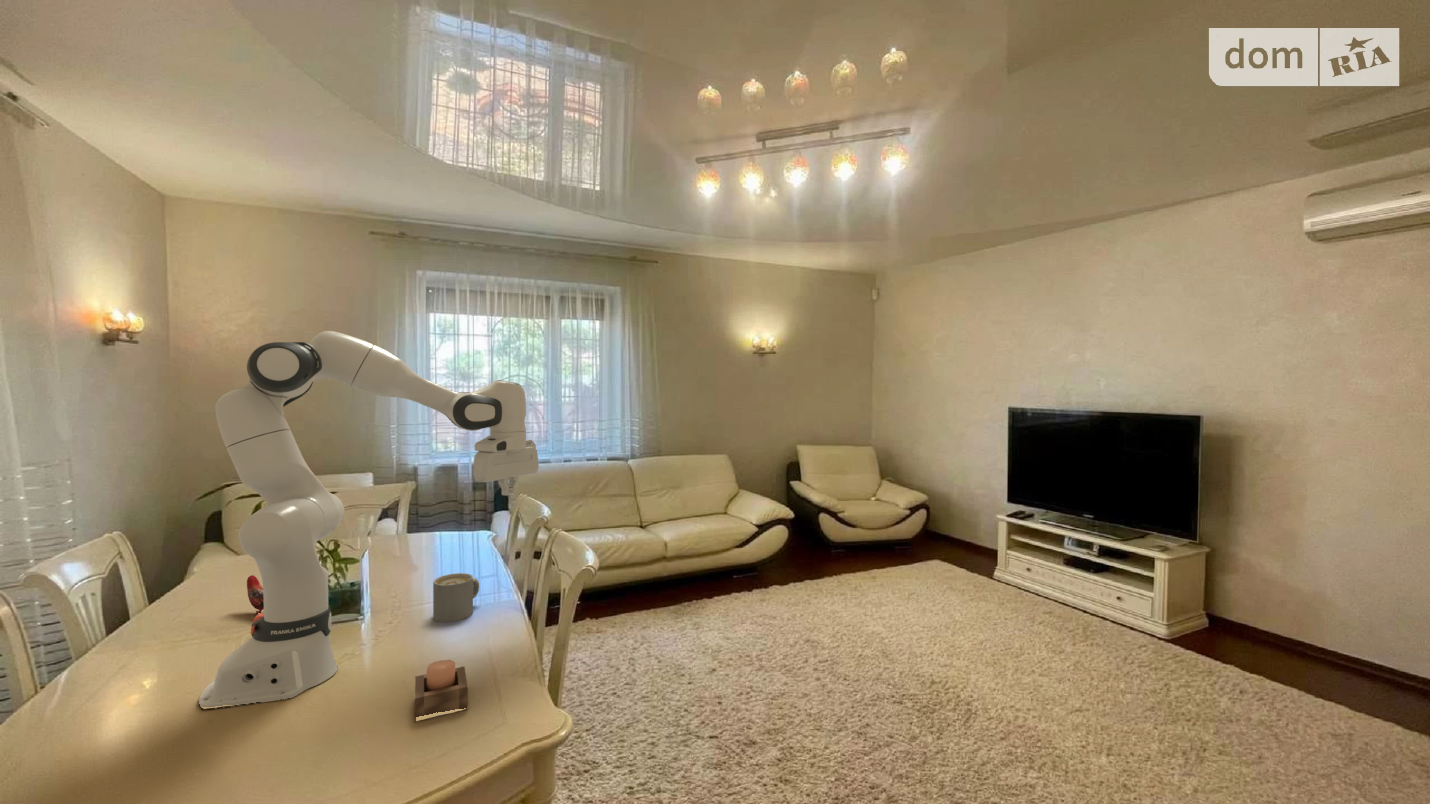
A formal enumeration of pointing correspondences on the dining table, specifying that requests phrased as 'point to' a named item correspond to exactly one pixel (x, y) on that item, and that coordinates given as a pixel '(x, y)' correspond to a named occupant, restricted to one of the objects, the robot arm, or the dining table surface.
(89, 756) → the dining table surface
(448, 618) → the coffee mug
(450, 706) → the button box
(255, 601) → the decorative bird figurine
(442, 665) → the push button
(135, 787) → the dining table surface
